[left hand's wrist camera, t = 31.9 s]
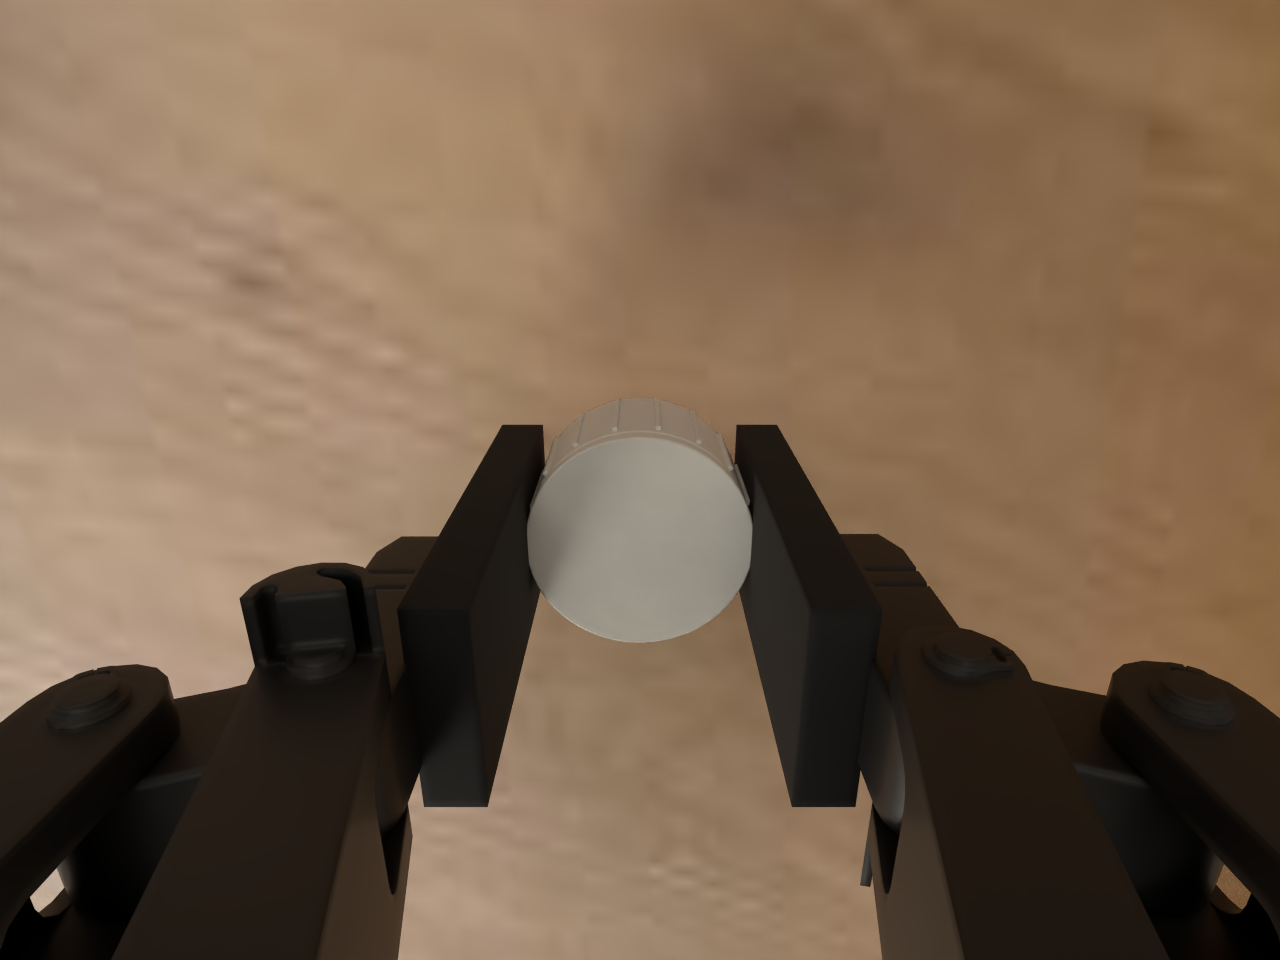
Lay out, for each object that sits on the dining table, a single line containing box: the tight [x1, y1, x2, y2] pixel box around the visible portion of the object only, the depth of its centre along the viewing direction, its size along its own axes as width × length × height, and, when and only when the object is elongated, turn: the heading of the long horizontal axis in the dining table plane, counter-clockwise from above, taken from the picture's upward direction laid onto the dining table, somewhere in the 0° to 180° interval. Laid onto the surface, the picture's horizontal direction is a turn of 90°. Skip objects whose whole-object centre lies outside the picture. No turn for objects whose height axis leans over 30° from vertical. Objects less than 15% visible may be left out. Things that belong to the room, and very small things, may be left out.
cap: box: [527, 397, 753, 643], centre depth 13 cm, size 4×4×2 cm
